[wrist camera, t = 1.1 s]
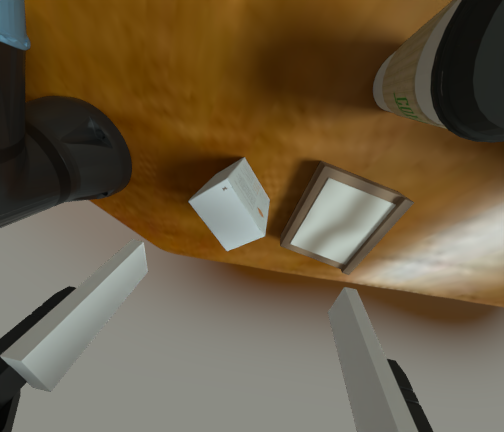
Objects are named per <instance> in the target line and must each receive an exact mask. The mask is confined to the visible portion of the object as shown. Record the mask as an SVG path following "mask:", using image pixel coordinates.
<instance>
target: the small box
mask: <svg viewBox="0 0 504 432" xmlns="http://www.w3.org/2000/svg"><path fill="white" fill-rule="evenodd" d="M188 202H189V203H190V205H191V206H192V207H193V208H194V210H195V211H196V212H197V214H198V215H199V216H200V217H201V219H202V220H203V221H204V222H205V224H206V225H207V226H208V228H209V229H210V230H211V231H212V233H213V234H214V235H215V237H216V238H217V239H218V240H219V242H220V243H221V244H222V246H223V247H224V248H225V249H226V251H229V250H231V249H234V248H236V247H239V246H241V245H244V244H246V243H249V242H251V241H254V240H256V239H259V238H261V237H264V236H265V232H266V225H267V217H268V209H269V202H270V199H269V198H268V196H267V194H266V193H265V191H264V189H263V188H262V186H261V184H260V183H259V181H258V179H257V178H256V176H255V174H254V172H253V171H252V169H251V167H250V166H249V164H248V162H247V161H246V159H245V157H243V158H242V159H240V160H238V161H237V162H235V163H233V164H232V165H230V166H229V167H227V168H225V169H224V170H222V171H220V172H219V173H217V174H216V175H215V176H213V177H212V178H211V179H210V180H209V181H208V182H207V183H206V184H205V185H204V186H203V187H202V188H201V189H200V190H199V191H198V192H197V193H196V194H195V195H193V196H192V197H191V198H190V199H189V201H188Z"/></svg>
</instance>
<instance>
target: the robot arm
mask: <svg viewBox="0 0 504 432" xmlns="http://www.w3.org/2000/svg"><path fill="white" fill-rule="evenodd" d="M28 49H30V40H29V38H28V36H27V34H26V21H25V5H24V0H0V228H2V227H4V226H7V225H9V224H12V223H14V222H17V221H19V220H22V219H24V218H27V217H29V216H31V215H34V214H37V213H39V212H41V211H44V210H46V209H49V208H51V207H53V206H56V205H58V204H61V203H64V202H70V201H80V200H91V199H101V198H105V197H109V196H111V195H113V194H115V193H117V192H119V191H121V190H123V189H124V188H125V187H126V185H127V184H128V182H129V180H130V177H131V172H132V164H131V157H130V153H129V150H128V147H127V145H126V143H125V141H124V139H123V137H122V135H121V133H120V132H119V130H118V129H117V128H116V126H115V125H114V124H113V123H112V121H111V120H110V119H109V118H108V117H107V116H106V115H105V114H103V113H102V112H101V111H100V110H99V109H97V108H96V107H94V106H93V105H91V104H89V103H87V102H85V101H83V100H80V99H77V98H73V97H62V96H46V97H41V98H38V99H35V100H32V101H29V102H25V52H26V50H28ZM147 272H148V269H147V263H146V255H145V248H144V242H142V241H138V240H133V239H132V240H131V241H129V242H128V243H127V244H126V245H125V246H124V247H123V248H121V249H120V250H119V251H118V252H117V253H116V254H115V255H114V256H112V257H111V258H110V259H109V260H108V261H107V262H106V263H104V264H103V265H102V266H101V267H100V268H99V269H98V270H97V271H95V272H94V273H93V274H92V275H91V276H90V277H89V278H88V279H87V280H85V281H84V282H83V283H82V284H81V285H80V286H78V288H75V287H70V286H69V287H67V288H65V289H63V290H61V291H59V292H57V293H56V294H54V295H53V296H52V297H51V298H49V299H48V300H47V301H46V302H44V303H43V305H42V306H40V307H38V308H37V309H36V310H35V311H33V312H32V314H31V315H29V316H27V317H26V318H25V319H24V320H22V321H21V322H20V323H19V324H18V325H16V326H15V327H14V328H13V329H12V330H10V331H9V332H8V333H7V334H5V335H4V336H3V337H2V338H1V339H0V432H11V431H12V427H13V423H14V418H15V415H16V411H17V407H18V403H19V398H20V389H21V388H22V387H23V386H24V385H25V383H26V382H27V383H29V385H31V386H32V387H33V388H36V389H41V390H45V391H49V392H51V391H52V390H53V388H54V387H55V386H56V385H57V383H58V382H59V381H60V380H61V378H62V377H63V376H64V375H65V374H66V372H67V371H68V370H69V369H70V367H71V366H72V365H73V363H74V362H75V361H76V360H77V359H78V358H79V356H80V355H81V354H82V353H83V351H84V350H85V349H86V348H87V346H88V345H89V344H90V343H91V341H92V340H93V339H94V338H95V336H96V335H97V334H98V333H99V332H100V330H101V329H102V328H103V326H104V325H105V324H106V323H107V322H108V320H109V319H110V318H111V317H112V315H113V314H114V313H115V312H116V310H117V309H118V308H119V307H120V305H121V304H122V303H123V302H124V300H125V299H126V298H127V297H128V296H129V294H130V293H131V292H132V291H133V289H134V288H135V287H136V286H137V284H138V283H139V282H140V281H141V279H142V278H143V277H144V276H145V275H146V273H147ZM328 315H329V320H330V324H331V328H332V332H333V336H334V340H335V343H336V348H337V352H338V356H339V360H340V364H341V368H342V372H343V377H344V381H345V385H346V389H347V393H348V397H349V401H350V405H351V409H352V413H353V417H354V422H355V425H356V430H357V432H433V430H432V428H431V426H430V424H429V422H428V420H427V418H426V416H425V414H424V412H423V409H422V407H421V406H420V405H419V401H418V399H417V398H416V395H415V393H414V392H413V389H412V387H411V384H410V382H409V380H408V378H407V376H406V374H405V373H404V372H403V370H402V369H401V368H400V366H399V365H398V364H397V362H396V361H394V360H390V359H386V357H385V354H384V352H383V350H382V347H381V345H380V343H379V340H378V338H377V336H376V334H375V331H374V329H373V327H372V324H371V322H370V320H369V317H368V315H367V313H366V311H365V308H364V306H363V304H362V301H361V299H360V297H359V294H358V292H357V290H356V289H351V288H347V287H344V288H343V290H342V291H341V293H340V295H339V296H338V298H337V299H336V301H335V302H334V304H333V306H332V307H331V308H330V310H329V311H328Z"/></svg>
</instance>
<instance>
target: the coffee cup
mask: <svg viewBox="0 0 504 432" xmlns="http://www.w3.org/2000/svg"><path fill="white" fill-rule="evenodd" d="M373 96H374V99H375V102H376V103H377V105H378V106H379V107H380V108H381V109H383V110H385V111H389V112H392V113H395V114H397V115H399V116H402V117H406V118H409V119H413V120H417V121H420V122H424V123H427V124H431V125H435V126H438V127H442V128H445V129H448V130H449V131H451V132H452V133H454V134H456V135H457V136H459V137H461V138H465V139H468V140H472V141H477V142H503V141H504V0H453V1H451V2H450V3H449V4H448V5H447V6H446V7H444V8H443V9H442V10H441V11H440V12H439V13H438V14H436V15H435V16H434V17H433V18H432V19H431V20H429V21H428V22H427V23H426V24H425V25H424V26H422V27H421V28H420V29H419V30H418V31H417V32H416V33H414V34H413V35H412V36H411V37H410V38H409V39H407V40H406V41H405V42H404V43H403V44H402V45H401V46H400V48H399V49H398V50H397V51H395V52H394V53H393V54H392V55H391V56H390V57H388V58H387V59H386V61H385V62H384V63H383V64H382V66H381V67H380V69H379V70H378V72H377V75H376V77H375V80H374V84H373Z"/></svg>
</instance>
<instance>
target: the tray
mask: <svg viewBox="0 0 504 432" xmlns="http://www.w3.org/2000/svg"><path fill="white" fill-rule="evenodd" d="M413 203H414V202H413V201H411V200H410V199H408V198H407V197H405V196H404V195H402V194H401V193H399V192H398V191H395V190H393V189H390V188H388V187H385V186H383V185H380V184H378V183H375V182H373V181H370V180H368V179H365V178H363V177H360V176H358V175H356V174H353V173H351V172H348V171H346V170H343V169H341V168H338V167H336V166H333V165H331V164H328V163H326V162H323V161H320V163H319V165H318V167H317V169H316V171H315V173H314V174H313V176H312V178H311V180H310V182H309V184H308V186H307V187H306V189H305V191H304V193H303V195H302V197H301V199H300V200H299V202H298V204H297V206H296V208H295V210H294V212H293V213H292V215H291V217H290V219H289V221H288V223H287V225H286V226H285V228H284V230H283V232H282V234H281V239H280V246H282V247H284V248H287V249H290V250H292V251H295V252H297V253H300V254H303V255H305V256H308V257H311V258H313V259H316V260H318V261H321V262H324V263H326V264H329V265H332V266H334V267H337V268H339V269H341V271H342V273H345V274H347V275H349V274H350V273H351V272H352V271H353V270H354V269H355V268H356V267H357V266H358V264H359V263H360V262H361V261H362V260H363V259H364V258H365V257H366V255H367V254H368V253H369V252H370V251H371V250H372V249H373V248H374V247H375V245H376V244H377V243H378V242H379V241H380V240H381V239H382V238H383V237H384V235H385V234H386V233H387V232H388V231H389V230H390V229H391V228H392V227H393V225H394V224H395V223H396V222H397V221H398V220H399V219H400V218H401V216H402V215H403V214H404V213H405V212H406V211H407V210H408V209H409V208H410V206H411V205H412V204H413Z"/></svg>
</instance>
